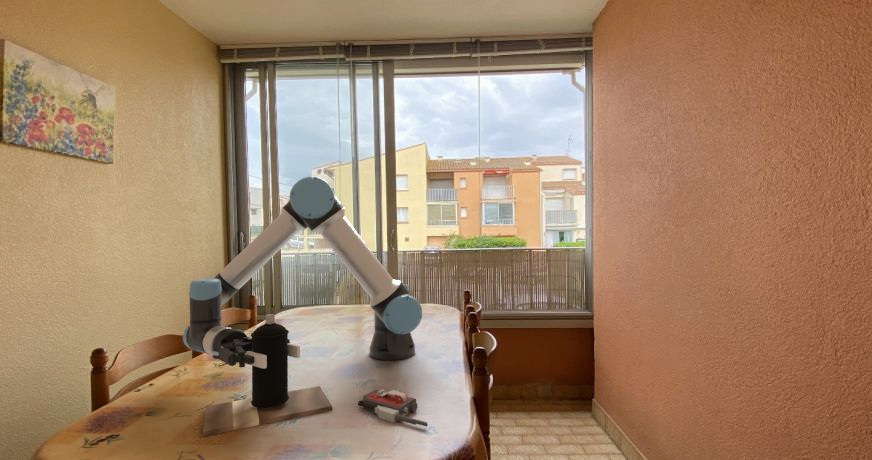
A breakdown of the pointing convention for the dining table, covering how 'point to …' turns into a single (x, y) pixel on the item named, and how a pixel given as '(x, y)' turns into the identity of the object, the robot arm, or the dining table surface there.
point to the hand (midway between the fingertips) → (282, 356)
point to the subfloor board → (263, 411)
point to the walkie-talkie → (391, 406)
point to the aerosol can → (270, 365)
